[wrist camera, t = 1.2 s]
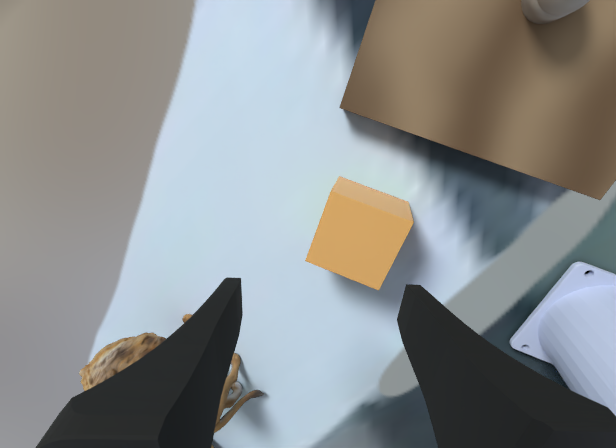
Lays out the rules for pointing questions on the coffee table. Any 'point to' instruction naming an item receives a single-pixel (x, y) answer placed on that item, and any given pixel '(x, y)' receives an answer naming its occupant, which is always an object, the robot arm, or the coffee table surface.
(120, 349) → the lion figurine
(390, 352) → the coffee table surface
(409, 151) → the coffee table surface
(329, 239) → the tan rounded cube
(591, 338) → the robot arm
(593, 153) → the walnut board
